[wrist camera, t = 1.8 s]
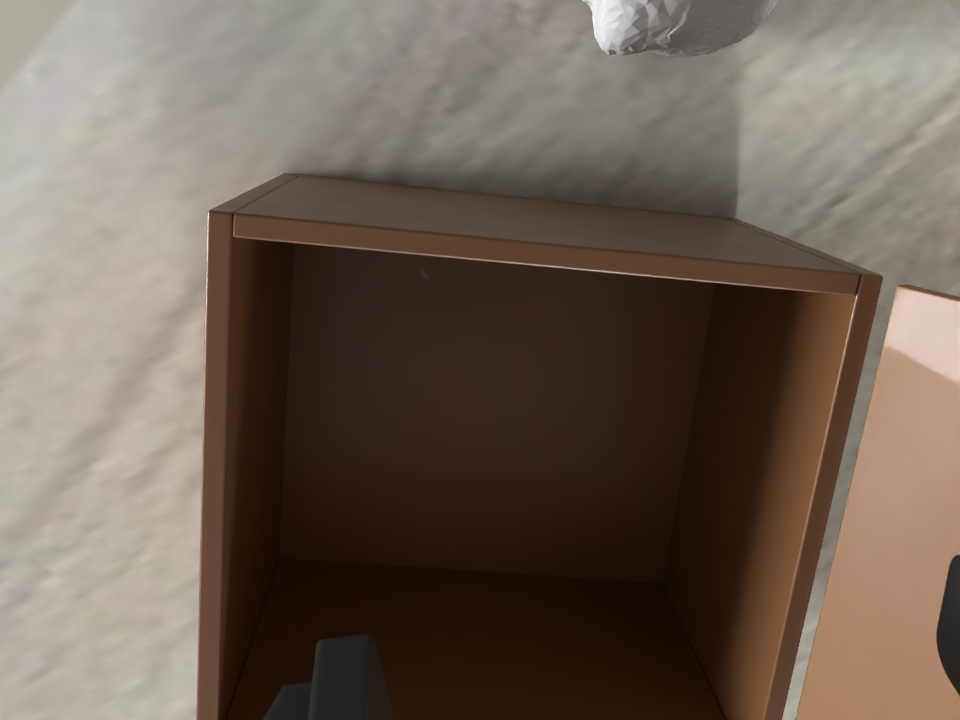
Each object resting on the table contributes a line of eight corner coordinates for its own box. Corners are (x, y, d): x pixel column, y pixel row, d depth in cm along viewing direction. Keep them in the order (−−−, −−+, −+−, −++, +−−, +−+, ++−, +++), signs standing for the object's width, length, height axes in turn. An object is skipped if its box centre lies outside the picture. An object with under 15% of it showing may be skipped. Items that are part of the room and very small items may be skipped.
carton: (283, 172, 27) (206, 210, 18) (737, 218, 28) (884, 275, 19) (266, 562, 30) (194, 759, 21) (670, 589, 32) (767, 788, 22)
